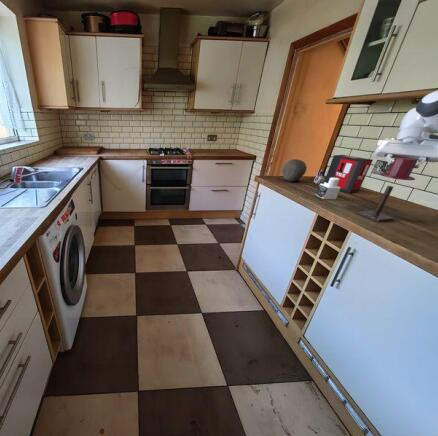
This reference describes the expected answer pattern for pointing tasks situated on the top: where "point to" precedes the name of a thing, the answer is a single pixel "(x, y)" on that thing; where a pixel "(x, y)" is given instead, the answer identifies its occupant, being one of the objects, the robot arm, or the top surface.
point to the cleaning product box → (349, 171)
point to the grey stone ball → (294, 170)
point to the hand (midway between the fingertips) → (403, 166)
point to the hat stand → (379, 208)
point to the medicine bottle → (328, 188)
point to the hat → (401, 168)
